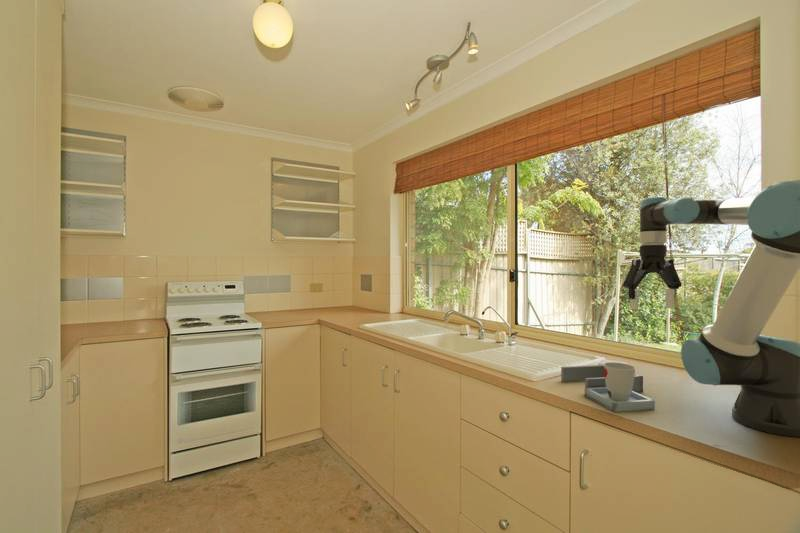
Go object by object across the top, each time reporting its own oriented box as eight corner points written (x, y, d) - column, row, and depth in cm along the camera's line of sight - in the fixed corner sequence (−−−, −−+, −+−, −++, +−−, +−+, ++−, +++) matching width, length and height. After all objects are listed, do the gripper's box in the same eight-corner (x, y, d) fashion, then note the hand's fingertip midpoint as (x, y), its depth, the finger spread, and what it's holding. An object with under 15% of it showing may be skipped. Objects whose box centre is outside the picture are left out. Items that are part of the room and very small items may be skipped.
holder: (642, 391, 127) (643, 376, 127) (587, 394, 124) (587, 379, 124) (611, 378, 141) (611, 364, 141) (561, 380, 138) (561, 366, 138)
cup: (608, 392, 123) (609, 360, 123) (638, 399, 117) (638, 366, 117) (599, 398, 117) (600, 365, 117) (630, 406, 112) (630, 371, 112)
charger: (630, 371, 151) (626, 381, 139) (604, 367, 156) (597, 376, 144) (630, 359, 151) (626, 367, 139) (604, 355, 156) (597, 363, 144)
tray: (654, 409, 112) (654, 400, 112) (614, 412, 110) (614, 403, 110) (621, 393, 125) (621, 386, 125) (584, 396, 123) (584, 388, 123)
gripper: (675, 245, 135) (674, 306, 136) (611, 244, 131) (610, 307, 131) (695, 244, 128) (694, 309, 128) (628, 243, 123) (627, 310, 124)
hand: (652, 308), depth 130 cm, fingers open, 13 cm apart
